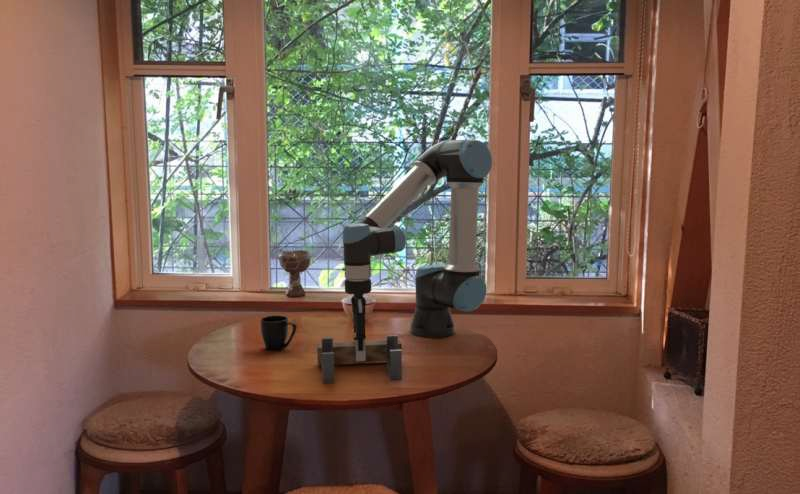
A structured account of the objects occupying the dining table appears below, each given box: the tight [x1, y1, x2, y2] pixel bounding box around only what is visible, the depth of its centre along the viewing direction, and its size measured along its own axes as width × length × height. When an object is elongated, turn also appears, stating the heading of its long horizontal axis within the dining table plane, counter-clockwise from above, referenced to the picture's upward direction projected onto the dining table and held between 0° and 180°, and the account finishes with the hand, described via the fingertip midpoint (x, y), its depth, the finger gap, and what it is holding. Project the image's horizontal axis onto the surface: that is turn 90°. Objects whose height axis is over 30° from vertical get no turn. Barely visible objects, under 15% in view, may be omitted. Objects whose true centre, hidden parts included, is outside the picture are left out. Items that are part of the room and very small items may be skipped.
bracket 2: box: [386, 334, 403, 381], centre depth 171 cm, size 3×8×10 cm, turn 8°
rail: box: [316, 339, 403, 366], centre depth 180 cm, size 24×4×5 cm, turn 98°
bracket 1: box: [321, 337, 335, 384], centre depth 169 cm, size 3×8×10 cm, turn 8°
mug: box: [260, 315, 298, 352], centre depth 194 cm, size 8×12×10 cm
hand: (360, 357), depth 181 cm, fingers closed on rail, 4 cm apart
